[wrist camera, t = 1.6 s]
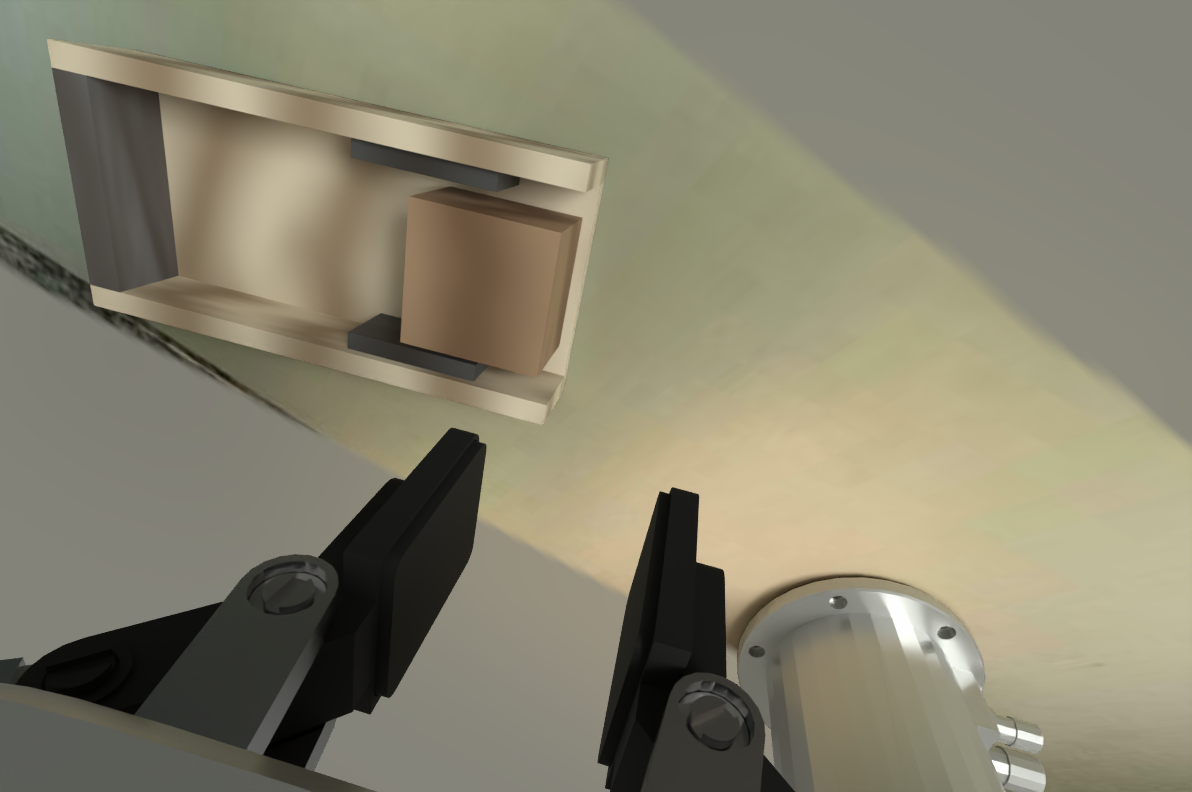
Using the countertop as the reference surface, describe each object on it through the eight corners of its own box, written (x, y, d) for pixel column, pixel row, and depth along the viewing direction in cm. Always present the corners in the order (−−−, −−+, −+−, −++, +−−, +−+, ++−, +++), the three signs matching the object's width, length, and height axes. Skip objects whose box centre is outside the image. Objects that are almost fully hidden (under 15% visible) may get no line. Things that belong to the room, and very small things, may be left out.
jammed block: (582, 217, 26) (561, 232, 22) (559, 345, 29) (536, 377, 25) (450, 186, 26) (408, 196, 23) (439, 315, 29) (400, 342, 25)
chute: (608, 158, 25) (590, 164, 22) (563, 389, 30) (543, 425, 27) (135, 49, 27) (46, 38, 24) (163, 284, 32) (93, 305, 28)
